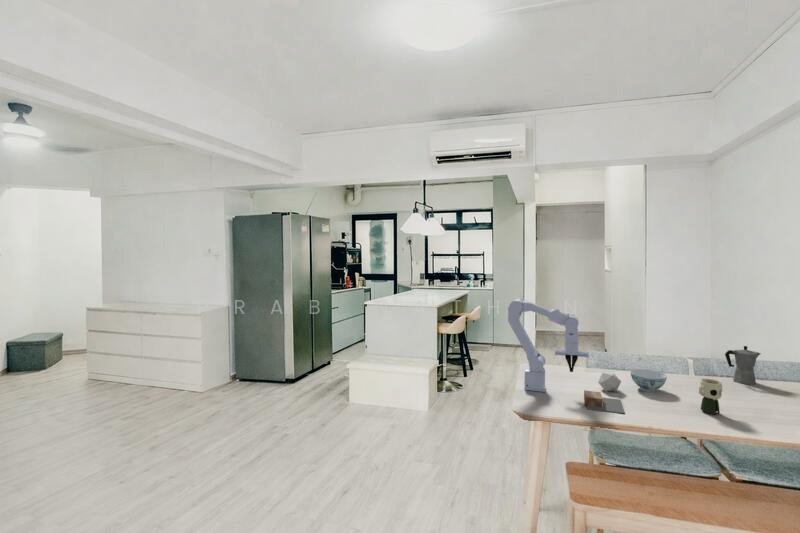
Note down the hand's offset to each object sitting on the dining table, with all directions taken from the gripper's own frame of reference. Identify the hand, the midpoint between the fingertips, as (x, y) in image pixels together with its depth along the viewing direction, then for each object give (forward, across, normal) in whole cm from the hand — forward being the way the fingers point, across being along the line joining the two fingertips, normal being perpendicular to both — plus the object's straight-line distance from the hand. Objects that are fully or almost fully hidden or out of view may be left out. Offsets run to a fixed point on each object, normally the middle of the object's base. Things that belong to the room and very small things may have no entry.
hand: (571, 371), depth 197 cm
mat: (+10, +13, -10) cm, 20 cm away
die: (+11, +17, +11) cm, 23 cm away
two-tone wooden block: (+8, +5, -10) cm, 14 cm away
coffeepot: (+11, +79, +47) cm, 92 cm away
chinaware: (+11, +34, +18) cm, 40 cm away
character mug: (+11, +53, -4) cm, 54 cm away
